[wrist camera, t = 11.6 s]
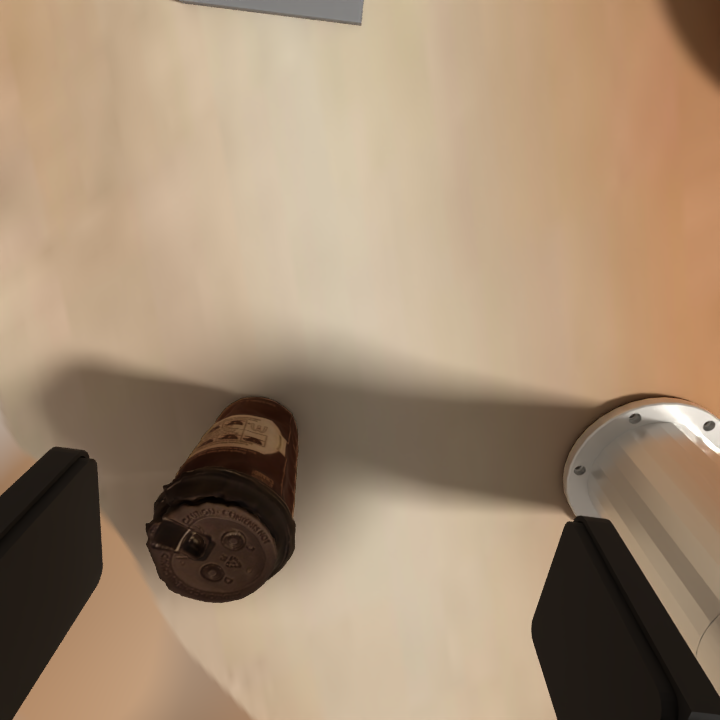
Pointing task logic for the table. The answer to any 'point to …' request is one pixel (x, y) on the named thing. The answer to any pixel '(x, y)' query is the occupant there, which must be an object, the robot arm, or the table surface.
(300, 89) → the table surface
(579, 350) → the table surface
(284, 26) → the table surface
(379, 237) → the table surface
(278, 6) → the felt pad
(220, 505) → the coffee cup
